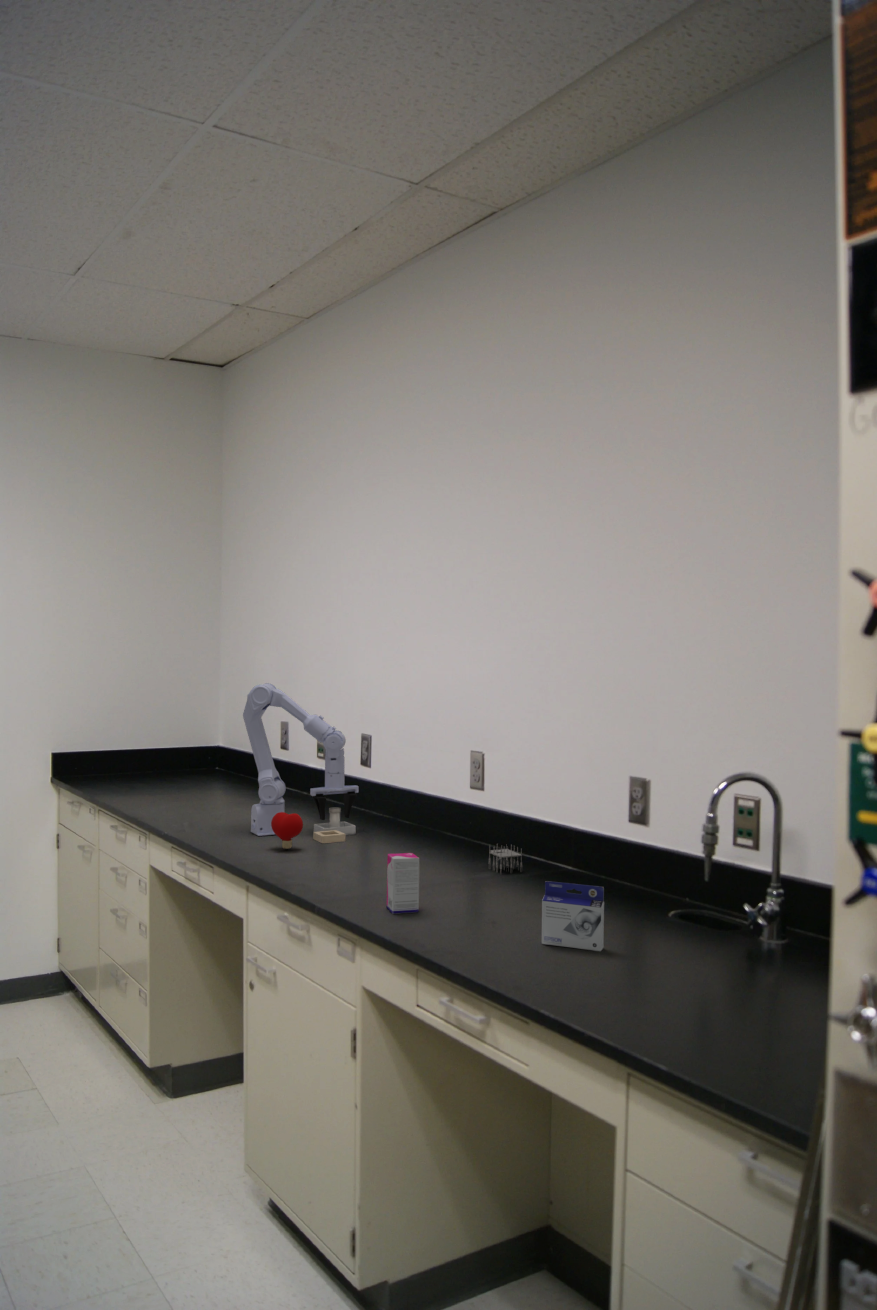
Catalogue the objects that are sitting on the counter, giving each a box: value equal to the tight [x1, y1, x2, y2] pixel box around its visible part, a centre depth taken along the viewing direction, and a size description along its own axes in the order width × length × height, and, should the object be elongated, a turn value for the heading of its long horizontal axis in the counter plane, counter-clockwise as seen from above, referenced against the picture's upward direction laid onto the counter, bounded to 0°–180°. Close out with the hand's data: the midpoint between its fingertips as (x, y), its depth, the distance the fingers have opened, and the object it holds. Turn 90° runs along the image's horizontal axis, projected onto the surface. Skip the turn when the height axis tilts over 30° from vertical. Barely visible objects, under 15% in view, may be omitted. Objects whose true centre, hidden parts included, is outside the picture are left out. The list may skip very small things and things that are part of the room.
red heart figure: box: [271, 811, 304, 851], centre depth 263 cm, size 9×7×10 cm
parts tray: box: [313, 821, 357, 836], centre depth 286 cm, size 10×8×2 cm
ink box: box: [541, 880, 605, 952], centre depth 179 cm, size 12×2×12 cm, turn 69°
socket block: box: [312, 830, 346, 844], centre depth 277 cm, size 7×7×2 cm
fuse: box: [328, 806, 342, 828], centre depth 286 cm, size 3×3×7 cm
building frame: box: [487, 843, 523, 875], centre depth 241 cm, size 6×8×6 cm
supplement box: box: [386, 852, 420, 915], centre depth 204 cm, size 6×6×12 cm
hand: (334, 818), depth 286 cm, fingers open, 7 cm apart
